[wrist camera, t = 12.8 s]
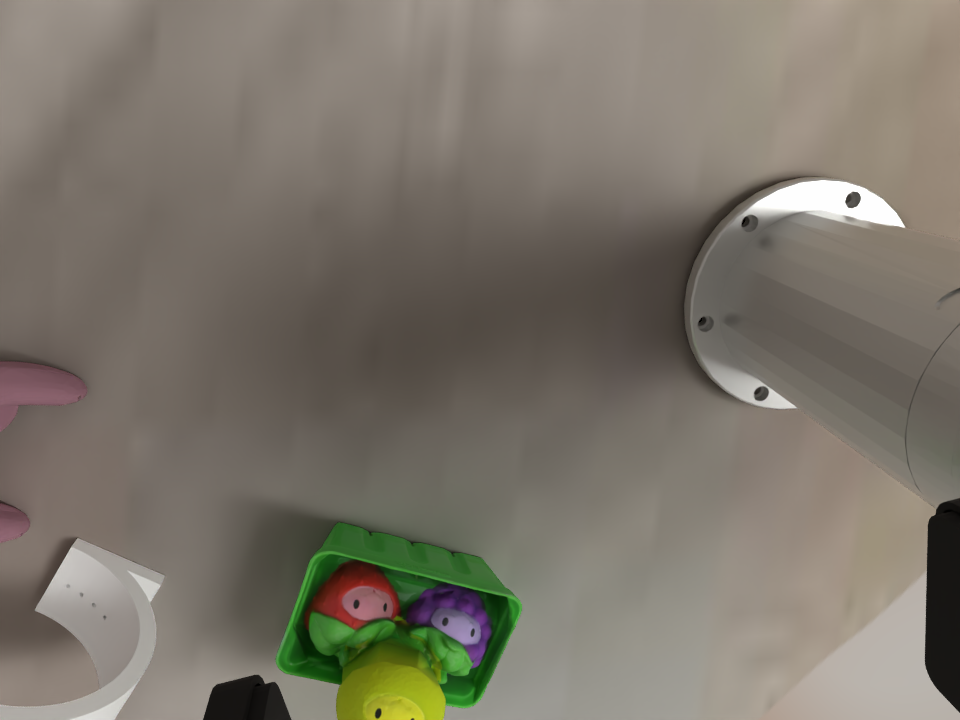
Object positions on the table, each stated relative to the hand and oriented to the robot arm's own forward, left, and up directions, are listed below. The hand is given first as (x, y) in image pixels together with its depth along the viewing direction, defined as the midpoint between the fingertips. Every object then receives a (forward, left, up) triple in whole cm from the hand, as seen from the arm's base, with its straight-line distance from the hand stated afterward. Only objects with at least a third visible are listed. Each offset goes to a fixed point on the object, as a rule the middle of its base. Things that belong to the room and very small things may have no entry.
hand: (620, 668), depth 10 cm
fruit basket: (+7, +18, -29) cm, 35 cm away
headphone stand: (+22, +14, -28) cm, 39 cm away
